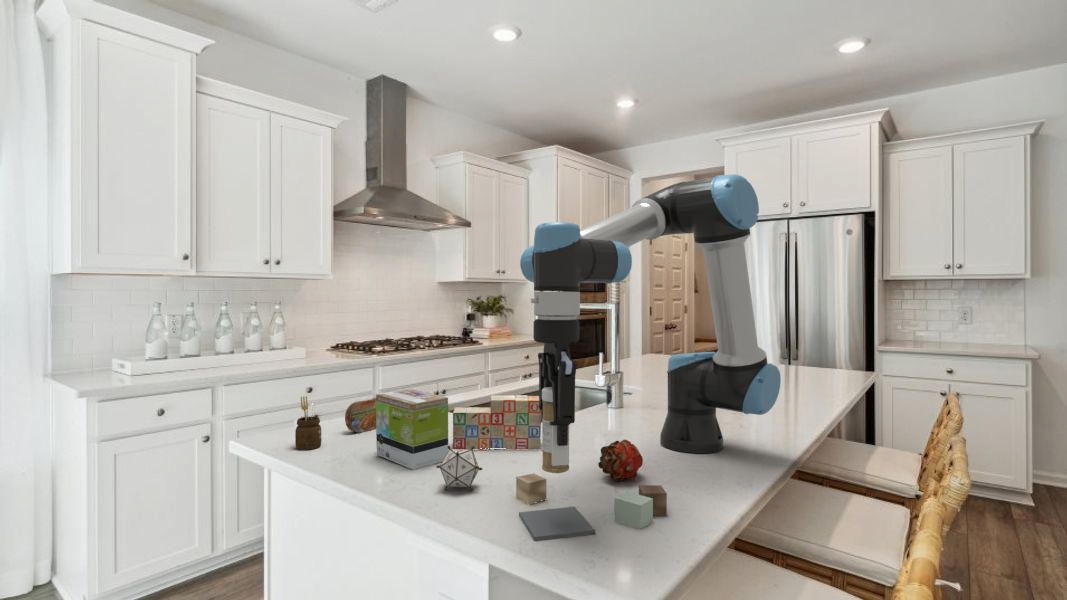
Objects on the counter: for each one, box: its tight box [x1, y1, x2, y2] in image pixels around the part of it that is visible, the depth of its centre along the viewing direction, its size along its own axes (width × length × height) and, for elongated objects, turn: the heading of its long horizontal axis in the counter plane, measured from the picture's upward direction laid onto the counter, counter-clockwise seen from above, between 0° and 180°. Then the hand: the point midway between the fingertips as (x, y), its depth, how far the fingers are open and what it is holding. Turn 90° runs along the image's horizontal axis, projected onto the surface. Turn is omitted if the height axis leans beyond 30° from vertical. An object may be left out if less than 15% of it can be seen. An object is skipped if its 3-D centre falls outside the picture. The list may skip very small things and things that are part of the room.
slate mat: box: [518, 506, 596, 542], centre depth 93 cm, size 10×10×1 cm
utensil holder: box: [294, 396, 322, 451], centre depth 138 cm, size 6×6×12 cm
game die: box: [435, 445, 483, 492], centre depth 110 cm, size 9×8×10 cm
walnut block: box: [638, 484, 668, 517], centre depth 99 cm, size 4×4×4 cm
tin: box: [344, 397, 376, 434], centre depth 156 cm, size 15×3×8 cm, turn 147°
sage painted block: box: [613, 491, 654, 530], centre depth 94 cm, size 4×5×4 cm
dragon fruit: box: [597, 439, 644, 482], centre depth 116 cm, size 8×8×12 cm
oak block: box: [515, 472, 547, 505], centre depth 104 cm, size 4×4×4 cm
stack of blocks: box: [452, 394, 542, 450], centre depth 139 cm, size 21×6×12 cm, turn 92°
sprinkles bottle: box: [541, 387, 570, 474], centre depth 93 cm, size 5×5×14 cm
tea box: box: [375, 388, 449, 471], centre depth 129 cm, size 15×10×15 cm, turn 47°
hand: (555, 459), depth 93 cm, fingers closed on sprinkles bottle, 4 cm apart
